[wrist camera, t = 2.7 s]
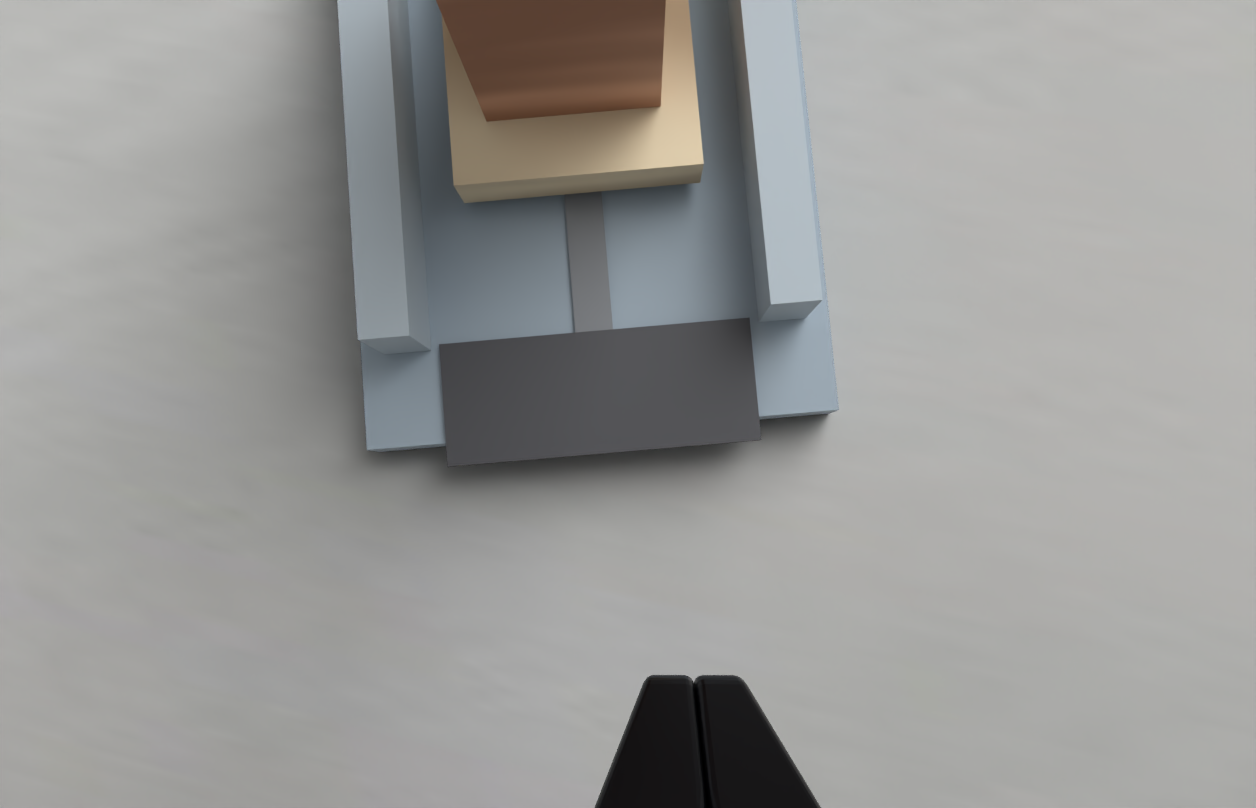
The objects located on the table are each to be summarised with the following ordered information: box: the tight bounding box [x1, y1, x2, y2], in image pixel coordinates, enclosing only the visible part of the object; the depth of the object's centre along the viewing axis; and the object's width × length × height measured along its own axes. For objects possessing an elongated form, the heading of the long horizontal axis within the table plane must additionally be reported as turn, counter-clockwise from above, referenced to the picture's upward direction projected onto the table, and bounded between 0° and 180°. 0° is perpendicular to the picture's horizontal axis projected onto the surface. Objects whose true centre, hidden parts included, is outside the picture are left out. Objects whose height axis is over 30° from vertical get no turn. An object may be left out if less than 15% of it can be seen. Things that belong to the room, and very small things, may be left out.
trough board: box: [337, 0, 839, 467], centre depth 21 cm, size 18×10×3 cm, turn 5°
